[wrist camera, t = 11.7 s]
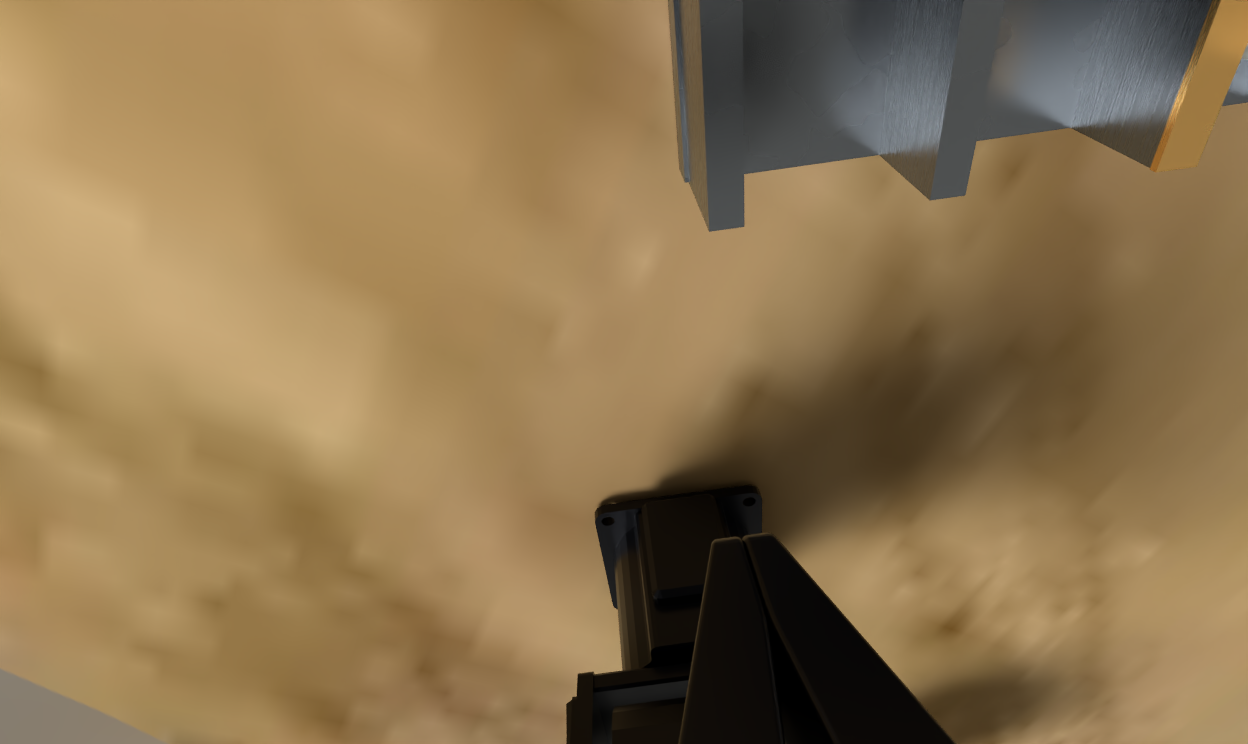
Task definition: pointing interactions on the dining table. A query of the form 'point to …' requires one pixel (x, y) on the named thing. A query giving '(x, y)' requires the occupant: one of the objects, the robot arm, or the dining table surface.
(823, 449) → the dining table surface
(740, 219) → the rack
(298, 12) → the dining table surface
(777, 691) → the robot arm
